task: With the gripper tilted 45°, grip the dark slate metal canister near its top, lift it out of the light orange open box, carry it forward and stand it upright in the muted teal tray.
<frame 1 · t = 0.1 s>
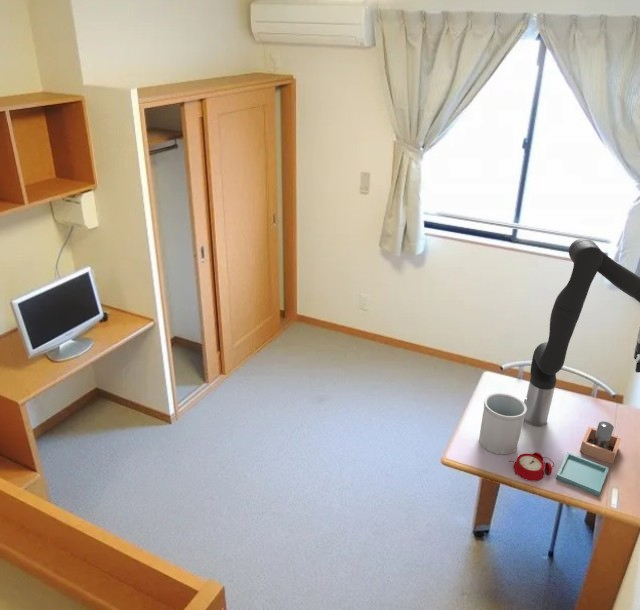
canister: (602, 437, 215), in the light orange open box
utensil holder: (497, 442, 220), on the table
teal tray: (581, 475, 205), on the table
light orange open box: (599, 449, 218), on the table
alarm clock: (532, 470, 208), on the table
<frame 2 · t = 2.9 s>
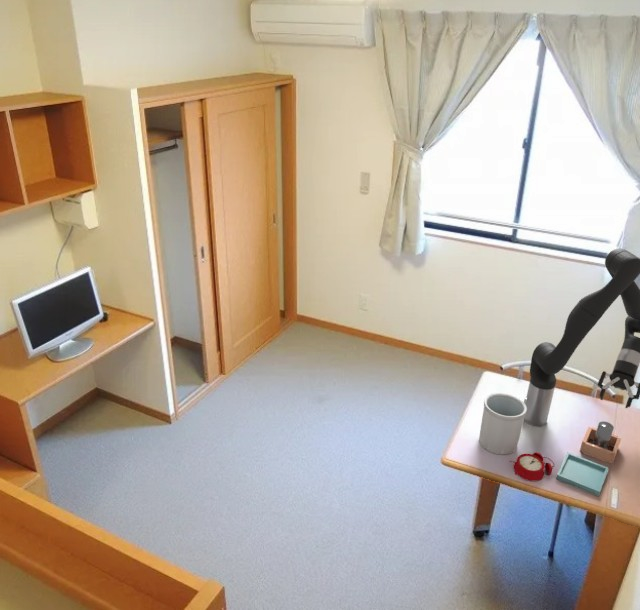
hand: (613, 403, 216), 16 cm above the table, tool tilted 45°, fingers open, 8 cm apart
nothing on the table moved.
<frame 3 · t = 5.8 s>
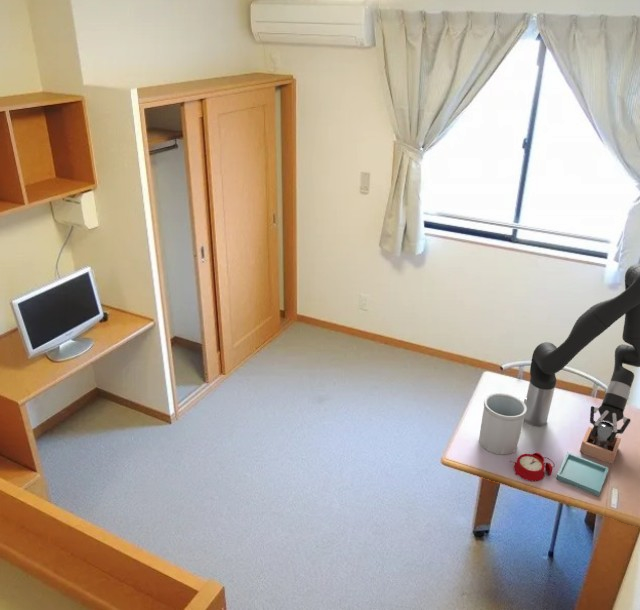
hand: (601, 439, 213), 6 cm above the table, tool tilted 45°, fingers closed on canister, 5 cm apart
canister: (602, 437, 215), in the light orange open box, touching gripper
everything else where it was.
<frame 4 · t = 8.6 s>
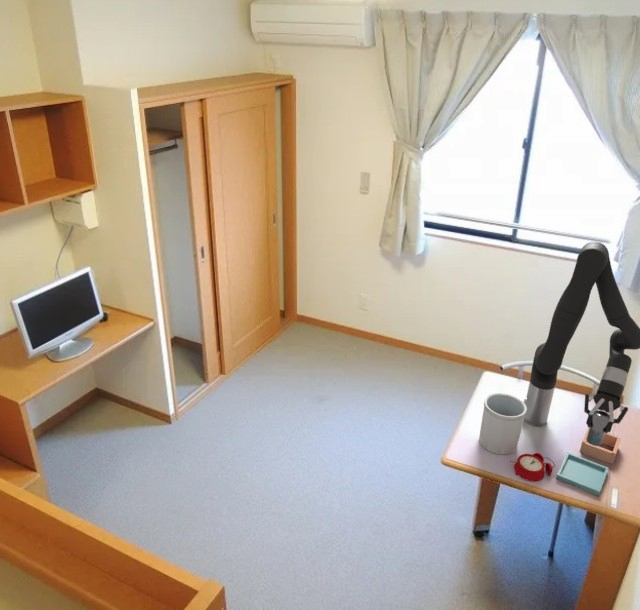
hand: (597, 429, 196), 20 cm above the table, tool tilted 45°, fingers closed on canister, 5 cm apart
canister: (598, 428, 198), point 19 cm above the table, touching gripper
everything else where it was.
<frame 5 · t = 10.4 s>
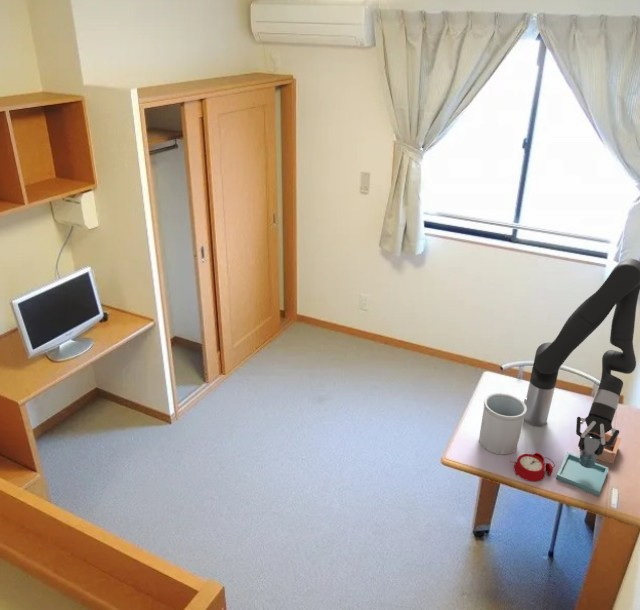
hand: (589, 452, 198), 12 cm above the table, tool tilted 45°, fingers closed on canister, 5 cm apart
canister: (589, 450, 200), point 11 cm above the table, touching gripper
everything else where it was.
when the fingers open (8 cm above the table, at t = 11.6 s): canister stays where it is, resting on teal tray.
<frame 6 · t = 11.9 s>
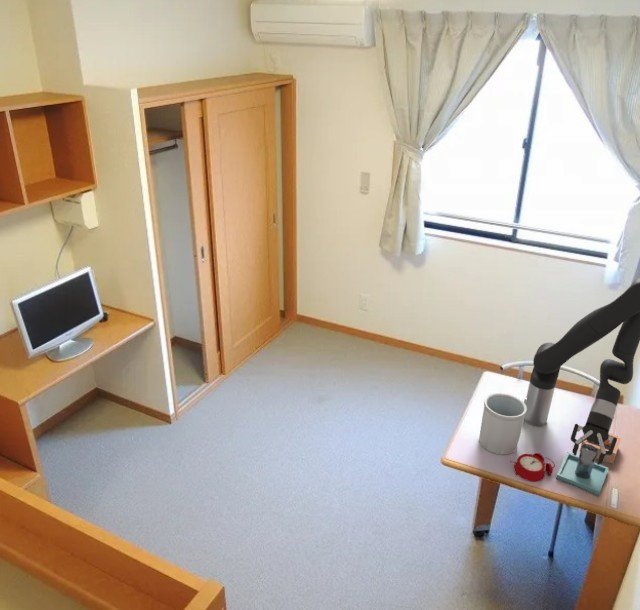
hand: (586, 459, 200), 8 cm above the table, tool tilted 45°, fingers open, 7 cm apart
canister: (586, 461, 203), in the teal tray, point 6 cm above the table
everything else where it was.
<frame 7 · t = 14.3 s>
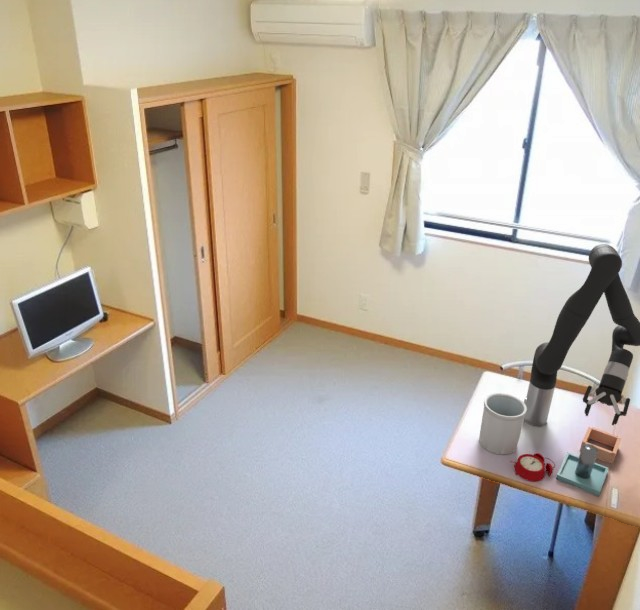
hand: (599, 420, 203), 19 cm above the table, tool tilted 45°, fingers open, 8 cm apart
nothing on the table moved.
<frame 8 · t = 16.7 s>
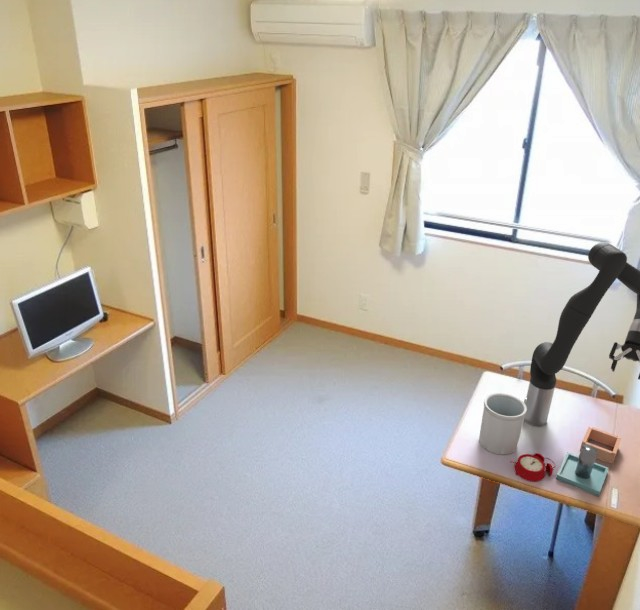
hand: (625, 374, 210), 29 cm above the table, tool tilted 45°, fingers open, 8 cm apart
nothing on the table moved.
at the end: canister 0.2 cm off-centre on the teal tray, point 6.4 cm above the teal tray's base; canister tilted 2°; the gripper is holding nothing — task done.
